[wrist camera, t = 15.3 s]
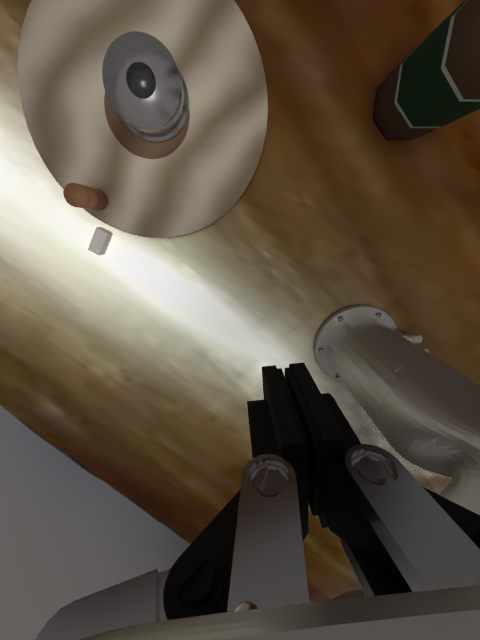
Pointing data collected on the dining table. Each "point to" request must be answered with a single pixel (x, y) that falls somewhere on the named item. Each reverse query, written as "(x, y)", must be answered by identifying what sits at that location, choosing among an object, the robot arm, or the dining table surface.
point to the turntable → (112, 133)
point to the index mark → (100, 241)
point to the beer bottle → (434, 79)
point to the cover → (145, 86)
